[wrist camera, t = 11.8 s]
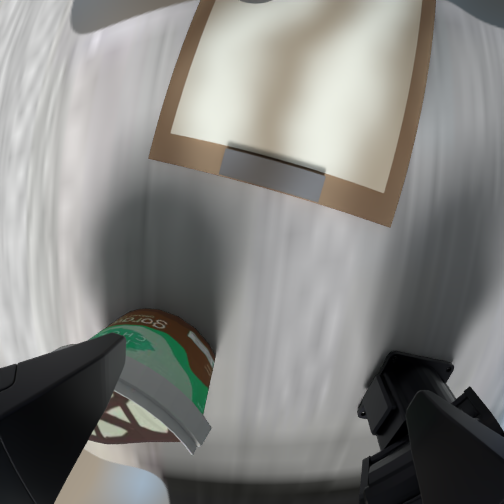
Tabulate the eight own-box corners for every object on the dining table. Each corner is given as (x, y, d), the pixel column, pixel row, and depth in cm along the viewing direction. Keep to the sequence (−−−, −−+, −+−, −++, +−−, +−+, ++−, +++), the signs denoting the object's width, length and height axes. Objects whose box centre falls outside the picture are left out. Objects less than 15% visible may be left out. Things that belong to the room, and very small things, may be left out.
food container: (207, 276, 21) (148, 351, 12) (234, 353, 22) (203, 454, 13) (74, 308, 23) (-6, 365, 14) (103, 371, 24) (42, 442, 15)
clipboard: (433, -5, 15) (440, -12, 13) (387, 226, 19) (394, 229, 18) (231, -58, 15) (228, -68, 14) (151, 158, 20) (143, 158, 18)
